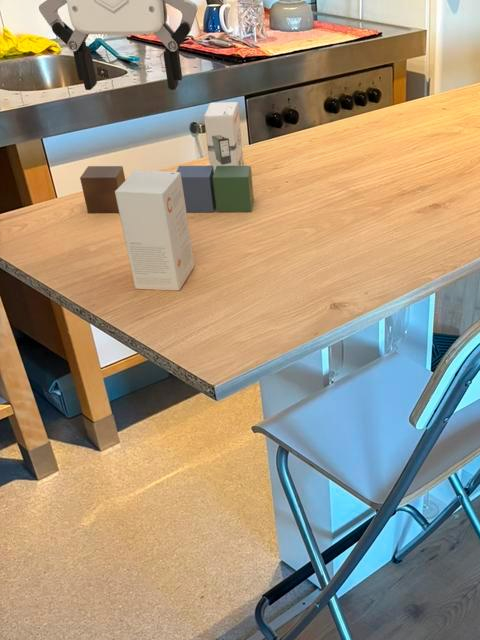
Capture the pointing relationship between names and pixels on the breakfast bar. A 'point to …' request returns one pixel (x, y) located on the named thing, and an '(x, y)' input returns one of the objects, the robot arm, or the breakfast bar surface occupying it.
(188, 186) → the block
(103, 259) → the breakfast bar surface
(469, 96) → the breakfast bar surface
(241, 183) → the block
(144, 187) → the small box
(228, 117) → the ink box
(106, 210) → the block
